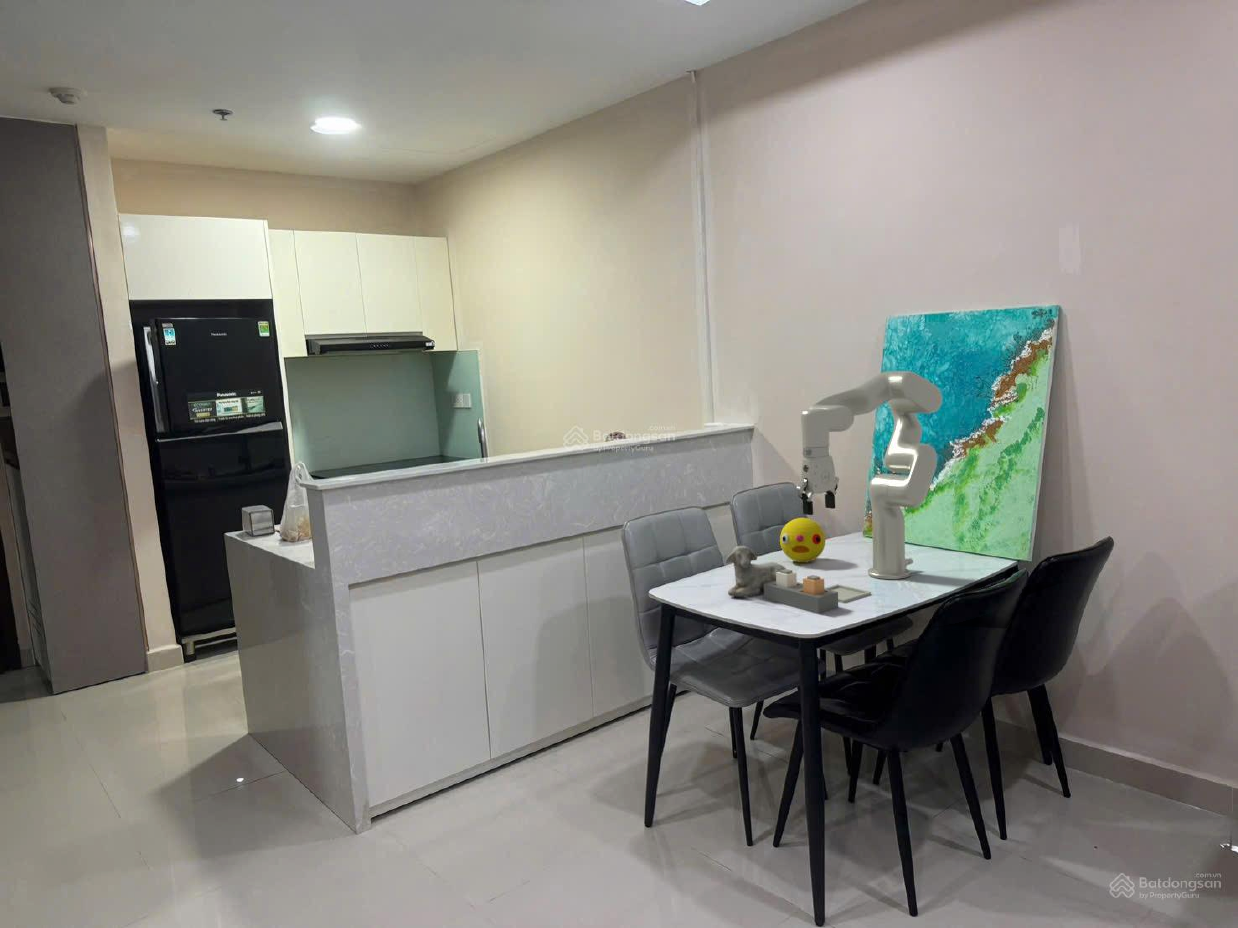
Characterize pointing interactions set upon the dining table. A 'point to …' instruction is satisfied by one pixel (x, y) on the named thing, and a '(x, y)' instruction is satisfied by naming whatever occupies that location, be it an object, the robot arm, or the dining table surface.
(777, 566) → the sculpture
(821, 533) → the toy
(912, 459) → the robot arm
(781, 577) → the pdu
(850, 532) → the dining table surface
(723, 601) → the dining table surface
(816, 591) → the plug
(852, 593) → the tray
